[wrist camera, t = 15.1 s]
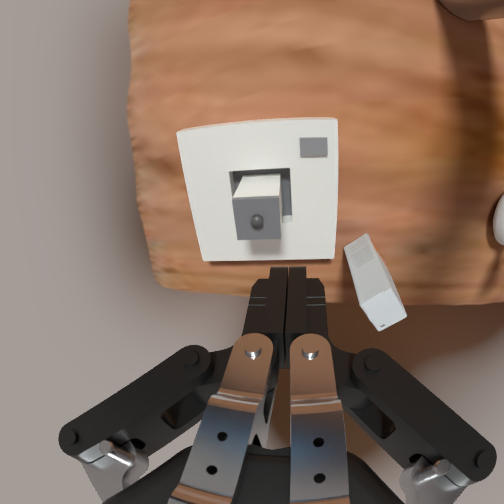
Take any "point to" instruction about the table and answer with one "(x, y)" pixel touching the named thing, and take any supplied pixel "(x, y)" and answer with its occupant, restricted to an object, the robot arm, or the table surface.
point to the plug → (258, 207)
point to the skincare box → (374, 284)
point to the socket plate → (264, 162)
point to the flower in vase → (499, 221)
